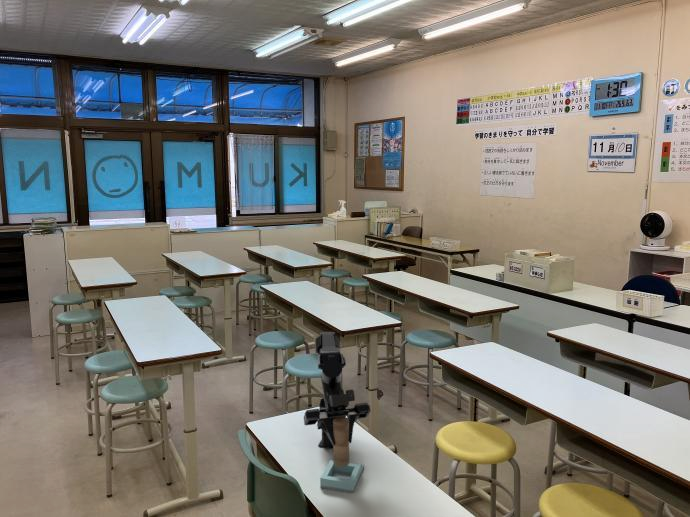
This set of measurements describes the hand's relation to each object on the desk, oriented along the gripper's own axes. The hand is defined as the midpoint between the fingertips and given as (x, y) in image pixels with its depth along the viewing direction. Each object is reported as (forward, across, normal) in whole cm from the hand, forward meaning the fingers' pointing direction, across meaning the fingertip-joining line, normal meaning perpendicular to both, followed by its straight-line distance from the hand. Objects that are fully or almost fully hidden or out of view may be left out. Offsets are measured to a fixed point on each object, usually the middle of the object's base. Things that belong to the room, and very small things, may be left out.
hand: (342, 444), depth 150 cm
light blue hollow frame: (+7, +1, +11) cm, 13 cm away
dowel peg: (+4, 0, +6) cm, 7 cm away
